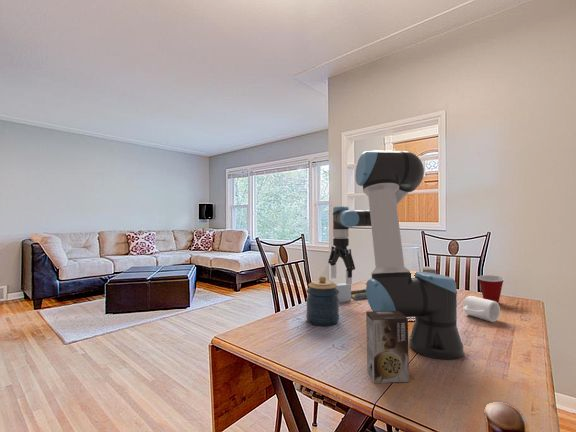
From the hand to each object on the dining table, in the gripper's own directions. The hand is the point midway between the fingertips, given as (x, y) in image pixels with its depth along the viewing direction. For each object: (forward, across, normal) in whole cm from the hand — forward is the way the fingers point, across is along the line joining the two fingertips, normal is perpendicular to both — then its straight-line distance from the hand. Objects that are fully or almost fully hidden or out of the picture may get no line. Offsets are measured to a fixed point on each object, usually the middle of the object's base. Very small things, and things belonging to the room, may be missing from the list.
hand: (340, 281), depth 148 cm
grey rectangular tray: (+10, +2, -15) cm, 18 cm away
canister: (+9, -22, +22) cm, 32 cm away
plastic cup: (+10, -32, -63) cm, 71 cm away
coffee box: (+9, -64, +27) cm, 70 cm away
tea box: (+10, -10, -40) cm, 42 cm away
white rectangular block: (+10, 0, 0) cm, 10 cm away
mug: (+9, -44, -36) cm, 58 cm away
